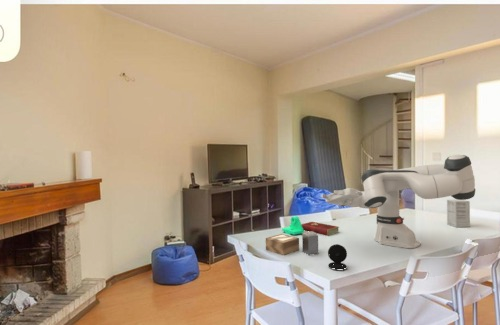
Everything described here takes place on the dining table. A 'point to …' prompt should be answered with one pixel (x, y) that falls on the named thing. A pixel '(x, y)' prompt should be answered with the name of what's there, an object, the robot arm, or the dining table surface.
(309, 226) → the hardcover book
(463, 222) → the supplement box
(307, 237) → the block
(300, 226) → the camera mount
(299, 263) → the dining table surface
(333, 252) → the webcam
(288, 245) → the stand
